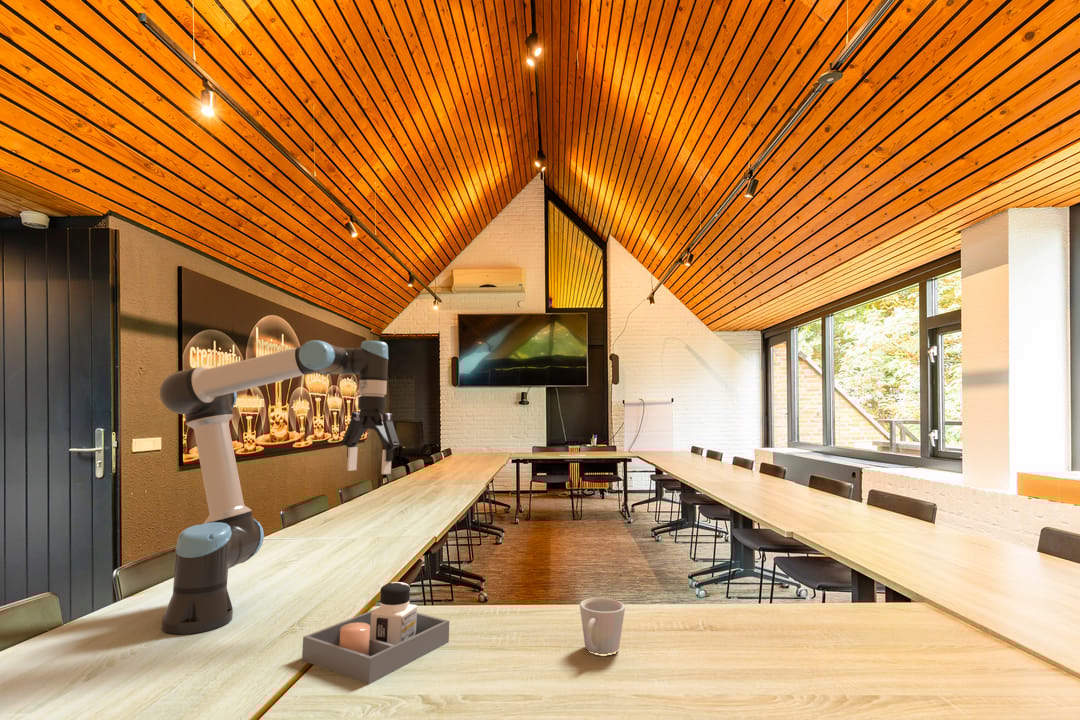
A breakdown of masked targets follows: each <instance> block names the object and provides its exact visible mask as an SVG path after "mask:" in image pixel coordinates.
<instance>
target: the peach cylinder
mask: <svg viewBox="0 0 1080 720" xmlns="http://www.w3.org/2000/svg"><path fill="white" fill-rule="evenodd" d="M369 639H370V625H369V624H367V623H361V622H357V623H350V624H346V625H344V626H342V627H341V628H340V644H339V646H341V647H344V648H347V649H350V650H353V651H356V652H359V653H362V654H365V655H368V656H369Z"/></svg>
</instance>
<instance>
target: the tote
mask: <svg viewBox="0 0 1080 720" xmlns="http://www.w3.org/2000/svg"><path fill="white" fill-rule="evenodd" d="M378 608H379V607H378ZM378 608H377V607H376V608H374V609H372V610H368V611H367V612H365V613H361V614H358V615H357V616H354V617H351V618H348V619H346V620H343V621H340V622H339V623H335V624H333V625H330V626H328V627H326V628H325V627H324V628H322V629H320V630H317V631H315V632H312V633H309V634H307V635H304V636H303V637H302V654H301V660H302V661H303V662H306V663H308V664H311V665H315V666H317V667H320V668H322V669H326V670H329V671H330V672H334V673H335V674H336V673H337V674H340V675H341V676H345V677H347V678H350V679H353V680H356V681H358V682H362V683H364V684H367V685H371V684H373V683H375V682H376V681H379V680H380V679H382V678H384V677H386V676H388V675H390V674H392V673H394V672H395V671H398V670H399V669H401V668H403V667H404V666H407V665H408V664H410V663H412V662H413V663H414V661H416V660H418V659H420V658H422V657H424V656H426V655H427V654H428V655H429V653H431V652H434V651H435V650H437V649H439V648H441V647H443V646H445V645H446V644H449V641H450V620H448V619H444V618H439V617H436V616H432V615H429V614H425V613H424V614H423V613H419V612H417V620H416V635H415V636H412V637H410V638H408V639H406V640H404V641H402V642H400V643H398V644H396V645H392V644H389V643H386V642H382V641H379V640H376V639H372V638H370V639H369V656H368V655H365V654H362V653H359V652H356V651H353V650H350V649H347V648H344V647H341V646H339V644H340V628H341V627H342V626H344V625H346V624H350V623H357V622H361V623H367V624H369V625H370V626H371V613H372V612H373V611H374V610H376V609H378Z"/></svg>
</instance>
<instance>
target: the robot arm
mask: <svg viewBox="0 0 1080 720" xmlns="http://www.w3.org/2000/svg"><path fill="white" fill-rule="evenodd" d="M388 365H389V346H388V344H387V343H386V342H384V341H379V340H363V341H362V342H361V345H360V347H356V348H355V347H354V348H353V347H351V348H350V347H340V346H336V345H334V344H331V343H328V342H327V341H323V340H319V339H318V340H316V339H313V340H312V339H311V340H308V341H306V342H305V343H304V344H303V345H302V346H298V347H294V348H290V349H285V350H280V351H277V352H272V353H269V354H265V355H260V356H257V357H252V358H248V359H244V360H239V361H236V362H231V363H227V364H223V365H219V366H215V367H212V368H211V367H210V368H205V367H202V366H197V367H194V368H189V369H185V370H180V371H175V372H174V373H171V374H170V375H168V376H167V377H166V378H165V379H164V380H163V382H162V383H161V385H160V387H159V399H160V402H161V403H162V405H163V406H164V407H165V408H166V409H167V410H169V411H171V412H172V413H175V414H179V415H184V419H185V424H186V426H187V427H189V428H191V429H193V431H194V438H195V442H196V448H197V453H198V459H199V464H200V469H201V470H200V471H201V476H202V481H203V487H204V492H205V496H206V497H205V498H206V502H207V507H208V512H209V515H208V516H207V518H206V519H205V520H204V522H203V523H201V524H194V525H192V526H189V527H187V528H185V529H184V530H182V531H181V532H180V533H179V535H178V536H177V540H176V546H175V559H174V560H175V561H174V575H173V588H172V589H173V590H172V596H171V598H170V600H169V602H168V604H167V607H166V610H165V612H164V614H163V616H162V619H161V630H162V632H164V633H166V634H172V635H187V634H188V635H189V634H198V633H203V632H208V631H211V630H212V631H213V630H216V629H217V628H221V627H223V626H226V625H227V624H229V623H230V622H231V621H232V620H233V616H234V609H233V608H234V607H233V603H232V601H231V598H230V595H229V591H228V576H229V569H230V568H233V567H236V566H238V565H239V564H243V563H245V562H246V561H248V560H250V559H251V558H253V556H255V555H256V554H257V553H258V552H259V551H260V550H261V547H262V546H263V543H264V538H265V533H264V528H263V526H262V524H261V523H260V521H257V519H255V518H254V516H253V511H252V509H251V508H250V507H248V506H246V505H245V502H244V496H243V491H242V486H241V481H240V476H239V471H238V465H237V461H236V455H235V451H234V445H233V440H232V435H231V430H230V429H231V428H230V421H231V419H232V418H233V417H234V413H233V408H234V405H236V403H237V398H238V395H237V392H242V391H244V390H245V391H246V390H249V389H253V388H257V387H262V386H266V385H269V384H273V383H276V382H281V381H282V382H283V381H285V380H289V379H293V378H298V377H302V376H307V375H311V374H315V373H320V374H323V375H325V374H327V375H330V376H331V375H332V376H333V375H359V383H358V385H359V386H358V387H359V388H358V394H359V395H360V396H358V397H357V399H358V400H357V409H358V410H360V411H359V412H353V411H352V412H351V417H350V421H349V424H348V426H347V428H346V431H345V432H344V436H343V438H342V441H341V443H342V445H345V446H346V448H347V449H346V459H347V467H346V471H349V472H351V471H357V470H358V467H357V465H358V445H357V444H358V443H359V442H360V439H361V438H362V437H363V435H364V433H365V432H366V431H367V430H374V431H375V432H376V434H377V436H378V438H379V440H380V441H381V443H382V445H383V447H384V448H383V449H382V456H381V475H389V474H390V475H391V474H392V462H393V461H394V460H393V459H394V450H395V449H397V448H400V446H401V445H400V441H399V438H398V435H397V432H396V429H395V425H394V422H393V413H391V412H388V413H387V412H384V411H385V409H386V408H387V398H386V395H387V393H388V392H387V391H388V390H387V385H388V383H387V382H388V381H387V380H388Z"/></svg>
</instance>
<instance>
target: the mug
mask: <svg viewBox="0 0 1080 720" xmlns="http://www.w3.org/2000/svg"><path fill="white" fill-rule="evenodd" d="M625 610H626V606H625V604H624V603H623V602H621V601H618V600H616V599H612V598H609V597H607V598H606V597H591V598H587V599H584V600H582V601H581V602H580V603H579V611H580V618H581V625H582V626H581V627H582V632H583V633H582V634H583V640H584V647H585V650H586V649H587V650H588V651H590V652H593V653H598V654H608V653H613V652H615V651H617V650H618V649H619V650H620V645H621V638H622V630H623V625H624V619H625V618H624V617H625V612H626V611H625ZM587 650H586V651H587ZM619 650H618V651H619ZM588 651H587V652H588Z"/></svg>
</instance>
